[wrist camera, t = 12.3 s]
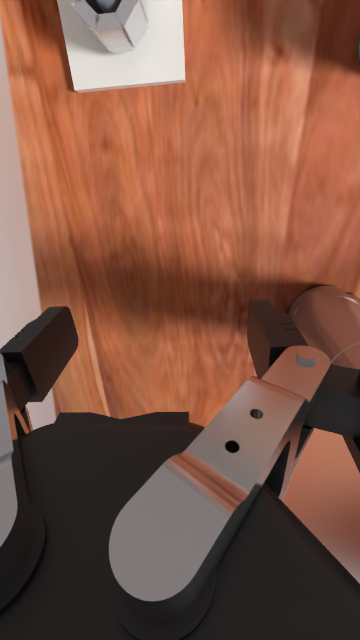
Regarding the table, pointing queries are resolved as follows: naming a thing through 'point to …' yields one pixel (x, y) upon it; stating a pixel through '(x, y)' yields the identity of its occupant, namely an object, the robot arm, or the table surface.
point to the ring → (115, 23)
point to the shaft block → (127, 67)
